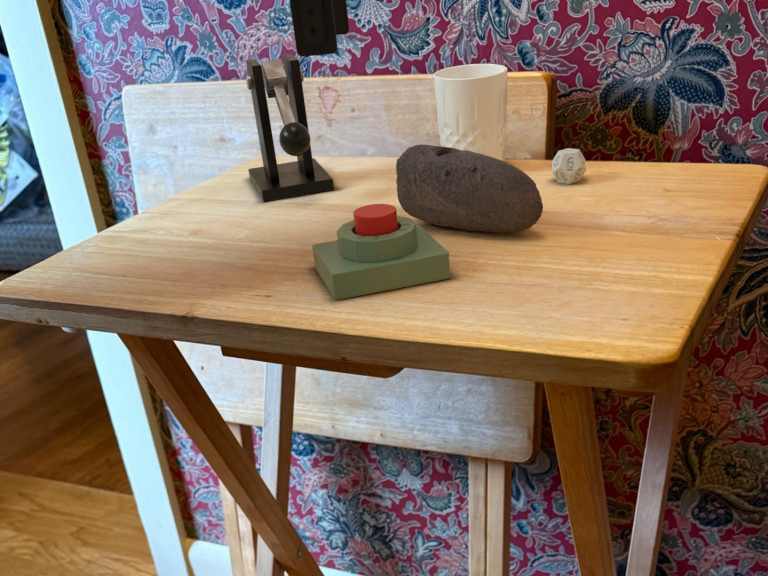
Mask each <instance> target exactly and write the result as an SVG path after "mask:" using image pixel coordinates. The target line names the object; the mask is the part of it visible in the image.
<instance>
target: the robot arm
mask: <svg viewBox="0 0 768 576" xmlns="http://www.w3.org/2000/svg"><path fill="white" fill-rule="evenodd" d="M289 6H290V13H291V21H292V26H293V34H294V41H295V49H296V53H297V55H298V56H299V57H312V56H313V57H314V56H324V55H325V56H326V55H333V54H336V53H337V51H338V39H337V36H338V35H339V36H341V35H347V34H348V32H350V31H349V30H350V23H349V14H348V4H347V0H289Z"/></svg>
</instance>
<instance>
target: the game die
mask: <svg viewBox="0 0 768 576" xmlns="http://www.w3.org/2000/svg"><path fill="white" fill-rule="evenodd" d="M550 164H551V173H552V174H553V176H554V178H555V180H556V181H557V183H558V184H565V185H571V184H574V183H575V184H576V183H577V182H580V181H581V179H582V178H583V176H584V175H585V173H586V171H587V163H586V158H585V157H584V155H583V153H582V151H581V149H580V148H571V147H568V148H564V149H559V150H557V152H556V154H555V156H554V157H553V159H552V160H551V163H550Z"/></svg>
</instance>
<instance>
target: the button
mask: <svg viewBox="0 0 768 576" xmlns="http://www.w3.org/2000/svg"><path fill="white" fill-rule="evenodd" d="M352 215H353V220H354V224H355V233H356V234H357V235H361V236H380V235H385V234H390V233H392V232H395V231H397V230H398V222H397V215H398V210H397V207H396V206H395V205H392V204H389V203H373V204H367V205H363V206H360V207H358V208H356V209H354V210H353V213H352Z"/></svg>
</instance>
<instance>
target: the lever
mask: <svg viewBox="0 0 768 576" xmlns="http://www.w3.org/2000/svg"><path fill="white" fill-rule="evenodd" d="M260 65H261V67H262V73H263V79H264V86H265V92H266V96H267V98H268V99H275V101H276V106H277V109H278V112H279V114H280V118H281V122H282V124H283V127H282V128H281V129H280V132H279V135H278V136H279V137H278V138H279V139H278V141H279V144H280V147H281V149H282V150H283V151H284V153H286V154H287V155H289V156H292V157H297V156H300V155H302V154H304V153H305V152H306V151H307V150H308V148H309V146H310V145H311V135H310V131H309V129H308V130H307V129H306V127H305V126H303V125H302V124H300V123H297V122H295V119H294V116H293V113H292V110H291V107H290V104H289V97H288V81H287V74H286V71H285V68H284V63H283V59H282V58H275V59H270V60H262V61H261V62H260ZM308 131H309V132H308Z"/></svg>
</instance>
